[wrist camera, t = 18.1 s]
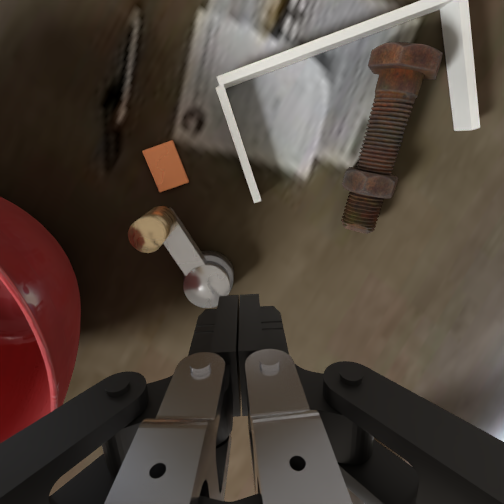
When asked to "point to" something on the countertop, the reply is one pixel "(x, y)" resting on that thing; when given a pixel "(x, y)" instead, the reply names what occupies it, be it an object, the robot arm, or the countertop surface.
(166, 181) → the small flat pieces
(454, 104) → the corral
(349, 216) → the bolt
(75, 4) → the countertop surface
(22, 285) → the mixing bowl
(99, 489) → the robot arm
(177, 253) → the crank
